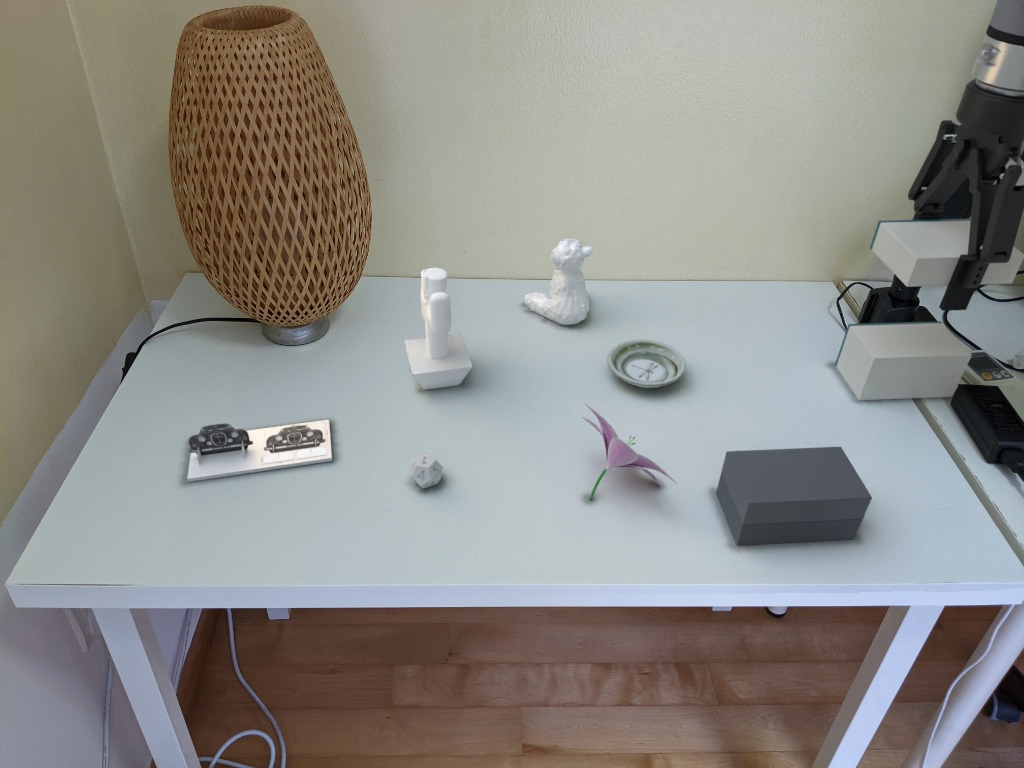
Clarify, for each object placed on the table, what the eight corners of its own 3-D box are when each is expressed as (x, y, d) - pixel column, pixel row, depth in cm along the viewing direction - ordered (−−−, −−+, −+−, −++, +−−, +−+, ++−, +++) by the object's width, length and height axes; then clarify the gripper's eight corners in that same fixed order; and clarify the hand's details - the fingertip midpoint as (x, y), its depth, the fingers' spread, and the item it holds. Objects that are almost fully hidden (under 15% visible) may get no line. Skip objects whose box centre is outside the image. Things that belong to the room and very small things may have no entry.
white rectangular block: (923, 362, 101) (940, 321, 97) (952, 397, 95) (972, 354, 92) (834, 365, 100) (848, 323, 96) (858, 400, 95) (874, 358, 91)
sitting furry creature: (582, 292, 114) (588, 217, 106) (609, 323, 107) (617, 245, 100) (522, 304, 111) (524, 228, 104) (546, 336, 105) (550, 257, 97)
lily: (671, 539, 78) (709, 454, 76) (567, 515, 74) (604, 425, 72) (627, 486, 89) (659, 411, 87) (534, 463, 85) (566, 384, 83)
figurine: (460, 352, 101) (457, 249, 92) (474, 395, 94) (473, 289, 85) (404, 359, 100) (396, 255, 91) (415, 404, 93) (407, 296, 83)
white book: (967, 245, 91) (978, 218, 89) (1012, 283, 84) (1025, 255, 82) (869, 248, 91) (878, 220, 88) (906, 287, 83) (917, 258, 81)
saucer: (616, 347, 103) (618, 331, 101) (689, 362, 100) (692, 347, 99) (597, 388, 96) (598, 373, 94) (675, 406, 93) (677, 391, 92)
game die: (446, 471, 84) (445, 450, 82) (437, 495, 81) (436, 475, 79) (415, 466, 84) (413, 446, 82) (405, 490, 81) (403, 470, 79)
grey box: (825, 487, 83) (841, 446, 79) (854, 539, 77) (872, 497, 73) (715, 492, 82) (726, 451, 78) (736, 545, 76) (749, 503, 72)
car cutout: (188, 482, 82) (177, 450, 79) (193, 440, 87) (183, 410, 84) (332, 460, 85) (327, 429, 82) (329, 422, 90) (324, 391, 87)
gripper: (918, 54, 84) (858, 242, 97) (1043, 124, 66) (948, 340, 80) (984, 54, 84) (915, 241, 98) (1125, 123, 67) (1016, 338, 81)
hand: (930, 285), depth 89 cm, fingers closed on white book, 9 cm apart
